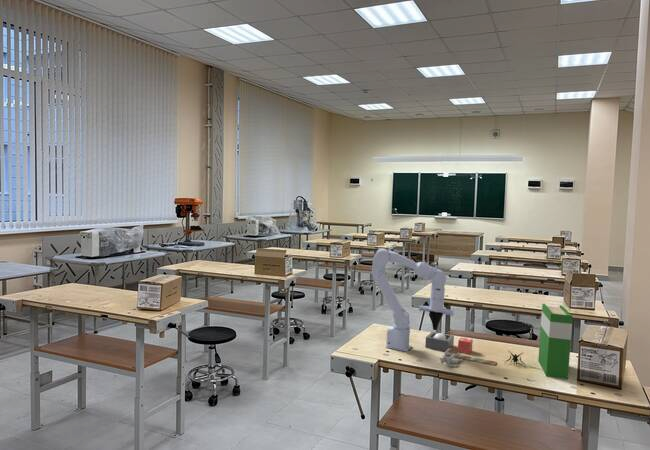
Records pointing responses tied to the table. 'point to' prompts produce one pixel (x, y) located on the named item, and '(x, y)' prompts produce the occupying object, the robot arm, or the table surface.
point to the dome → (440, 336)
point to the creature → (515, 359)
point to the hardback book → (555, 341)
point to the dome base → (439, 342)
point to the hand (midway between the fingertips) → (435, 329)
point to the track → (473, 359)
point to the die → (465, 345)
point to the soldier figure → (450, 359)
